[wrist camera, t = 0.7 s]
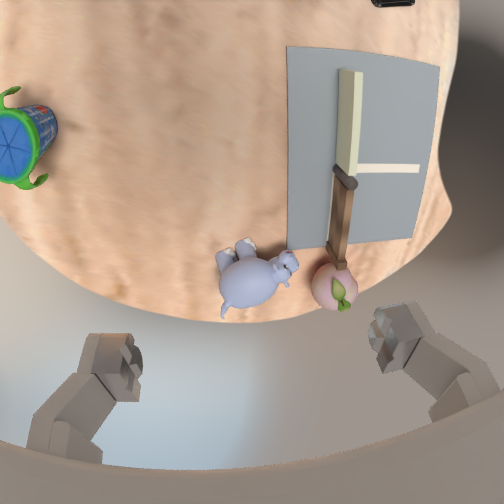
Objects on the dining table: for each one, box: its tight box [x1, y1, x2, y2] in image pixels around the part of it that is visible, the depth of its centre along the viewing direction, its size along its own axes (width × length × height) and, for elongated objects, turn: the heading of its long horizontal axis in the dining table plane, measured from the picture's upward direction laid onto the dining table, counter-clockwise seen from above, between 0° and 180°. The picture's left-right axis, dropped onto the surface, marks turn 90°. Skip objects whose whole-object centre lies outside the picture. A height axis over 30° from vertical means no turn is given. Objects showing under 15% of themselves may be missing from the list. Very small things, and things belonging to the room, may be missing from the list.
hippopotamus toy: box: [216, 237, 299, 319], centre depth 53 cm, size 11×15×10 cm
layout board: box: [286, 47, 440, 250], centre depth 46 cm, size 34×26×1 cm
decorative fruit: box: [311, 263, 358, 312], centre depth 55 cm, size 9×8×10 cm
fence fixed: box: [326, 164, 358, 271], centre depth 48 cm, size 16×2×7 cm, turn 3°
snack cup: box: [0, 86, 57, 190], centre depth 32 cm, size 16×10×10 cm
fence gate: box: [335, 69, 363, 176], centre depth 39 cm, size 15×1×6 cm, turn 3°
